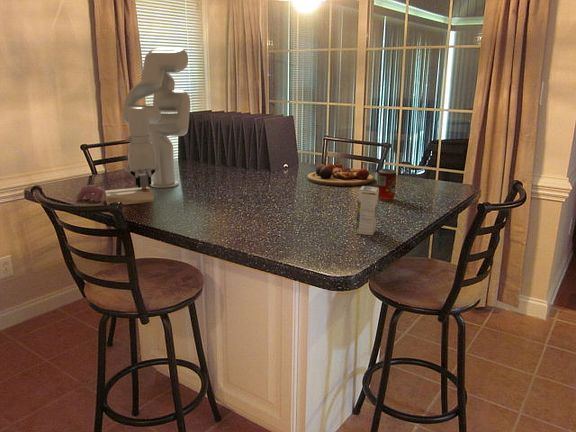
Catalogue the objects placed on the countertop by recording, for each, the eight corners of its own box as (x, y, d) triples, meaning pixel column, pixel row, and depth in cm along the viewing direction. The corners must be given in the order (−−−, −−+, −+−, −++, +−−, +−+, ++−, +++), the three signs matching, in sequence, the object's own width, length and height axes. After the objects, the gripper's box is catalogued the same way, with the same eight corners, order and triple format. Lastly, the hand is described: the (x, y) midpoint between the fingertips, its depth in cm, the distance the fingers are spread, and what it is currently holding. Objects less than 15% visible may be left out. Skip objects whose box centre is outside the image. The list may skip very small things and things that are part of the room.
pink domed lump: (103, 204, 190) (107, 187, 191) (96, 201, 185) (99, 184, 186) (82, 202, 192) (86, 185, 194) (75, 199, 188) (78, 182, 189)
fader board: (105, 200, 189) (104, 190, 188) (149, 196, 196) (149, 186, 195) (107, 206, 182) (106, 195, 180) (153, 201, 189) (153, 191, 187)
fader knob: (139, 187, 192) (137, 173, 190) (146, 187, 193) (145, 173, 191) (141, 190, 187) (139, 176, 186) (148, 189, 189) (147, 175, 187)
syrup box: (358, 228, 158) (360, 185, 154) (376, 230, 157) (379, 187, 153) (355, 233, 153) (357, 189, 149) (374, 235, 151) (377, 191, 147)
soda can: (390, 202, 190) (392, 172, 187) (373, 200, 194) (375, 170, 191) (397, 199, 196) (399, 169, 193) (381, 196, 200) (383, 167, 197)
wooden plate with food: (387, 182, 228) (389, 165, 225) (335, 190, 210) (336, 171, 208) (344, 172, 253) (344, 156, 251) (294, 178, 236) (294, 161, 234)
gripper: (119, 142, 178) (123, 190, 183) (163, 140, 185) (166, 186, 190) (116, 139, 185) (120, 186, 190) (159, 137, 191) (162, 183, 196)
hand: (143, 186), depth 190 cm, fingers closed on fader knob, 3 cm apart
